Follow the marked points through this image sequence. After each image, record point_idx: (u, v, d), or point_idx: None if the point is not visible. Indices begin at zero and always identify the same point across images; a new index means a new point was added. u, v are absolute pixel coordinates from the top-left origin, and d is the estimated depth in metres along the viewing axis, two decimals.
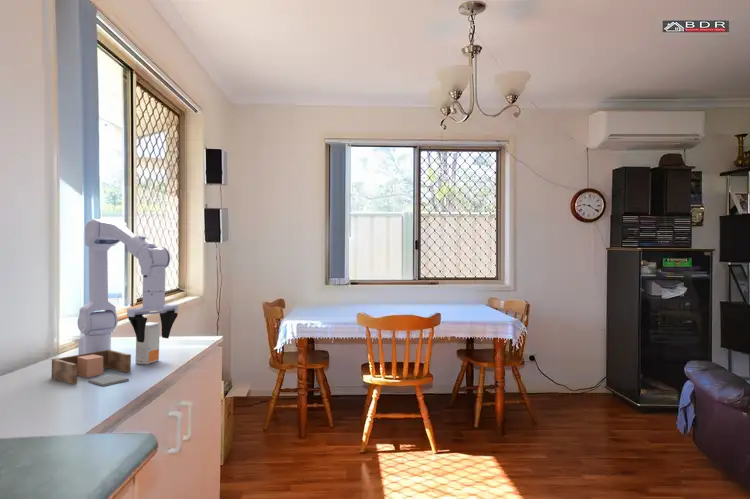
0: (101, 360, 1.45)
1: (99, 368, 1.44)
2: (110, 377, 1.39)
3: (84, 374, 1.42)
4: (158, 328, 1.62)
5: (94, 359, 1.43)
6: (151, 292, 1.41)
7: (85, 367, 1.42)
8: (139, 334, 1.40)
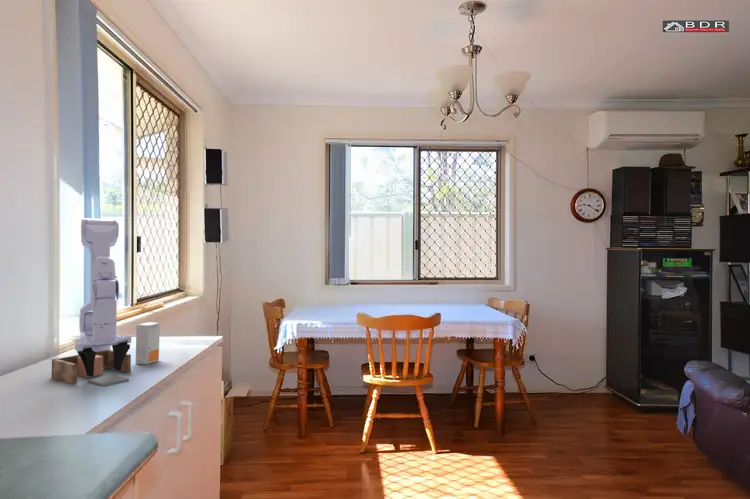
0: (101, 360, 1.45)
1: (99, 368, 1.44)
2: (110, 377, 1.39)
3: (84, 374, 1.42)
4: (158, 328, 1.62)
5: None
6: (101, 325, 1.38)
7: None
8: (88, 368, 1.37)
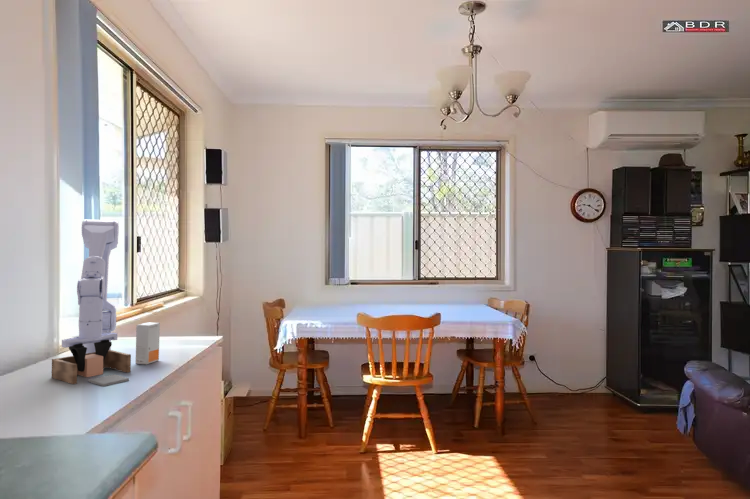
0: (101, 359, 1.45)
1: (99, 368, 1.44)
2: (110, 377, 1.39)
3: (84, 374, 1.42)
4: (158, 328, 1.62)
5: (94, 359, 1.43)
6: (87, 322, 1.42)
7: (85, 367, 1.42)
8: (79, 363, 1.42)
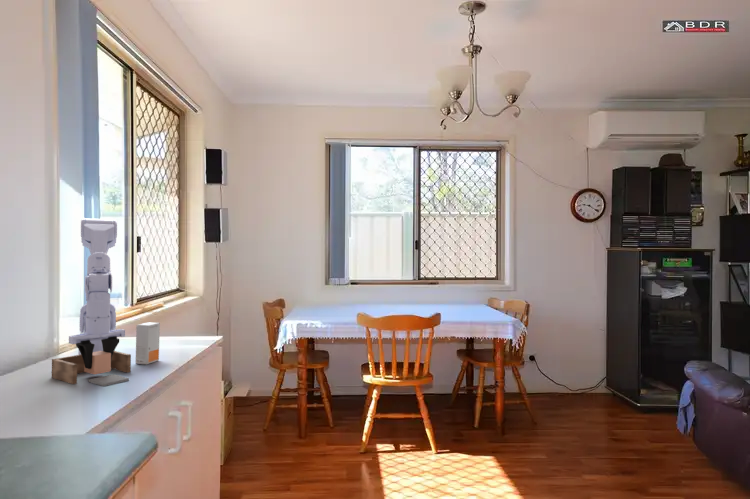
0: (109, 356, 1.42)
1: (107, 365, 1.41)
2: (110, 377, 1.39)
3: (91, 371, 1.39)
4: (158, 328, 1.62)
5: (102, 356, 1.40)
6: (94, 318, 1.39)
7: (92, 364, 1.39)
8: (87, 360, 1.39)
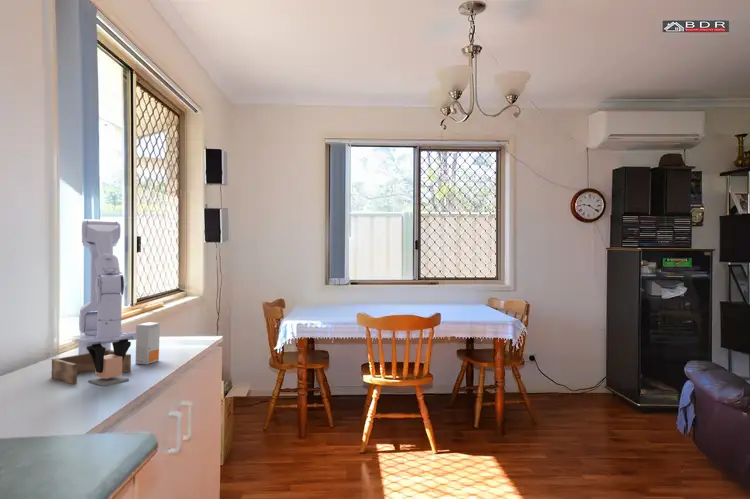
0: (120, 360, 1.38)
1: (118, 369, 1.37)
2: None
3: (103, 375, 1.35)
4: (158, 328, 1.62)
5: (113, 359, 1.36)
6: (105, 321, 1.35)
7: (104, 368, 1.35)
8: (98, 364, 1.35)
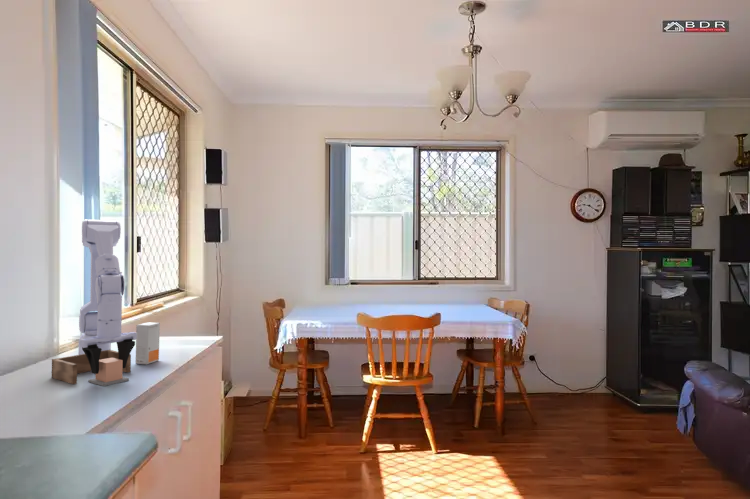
0: (121, 363, 1.38)
1: (118, 372, 1.37)
2: None
3: (103, 378, 1.35)
4: (158, 328, 1.62)
5: (113, 363, 1.36)
6: (106, 321, 1.35)
7: (104, 371, 1.35)
8: (93, 365, 1.34)
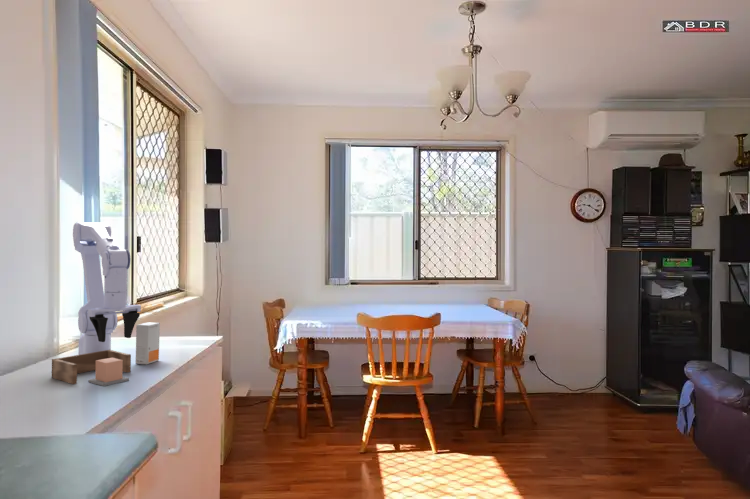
0: (121, 363, 1.38)
1: (118, 372, 1.37)
2: None
3: (103, 378, 1.35)
4: (158, 328, 1.62)
5: (113, 363, 1.36)
6: (112, 293, 1.44)
7: (104, 371, 1.35)
8: (100, 334, 1.43)
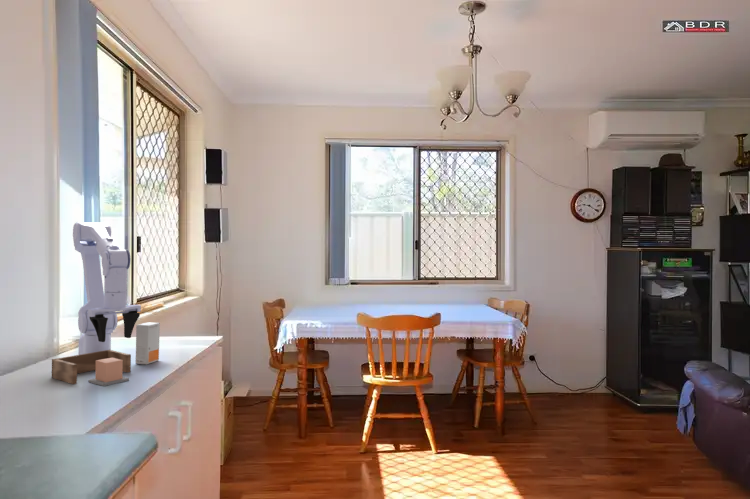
0: (121, 363, 1.38)
1: (118, 372, 1.37)
2: None
3: (103, 378, 1.35)
4: (158, 328, 1.62)
5: (113, 363, 1.36)
6: (112, 293, 1.44)
7: (104, 371, 1.35)
8: (100, 334, 1.43)
